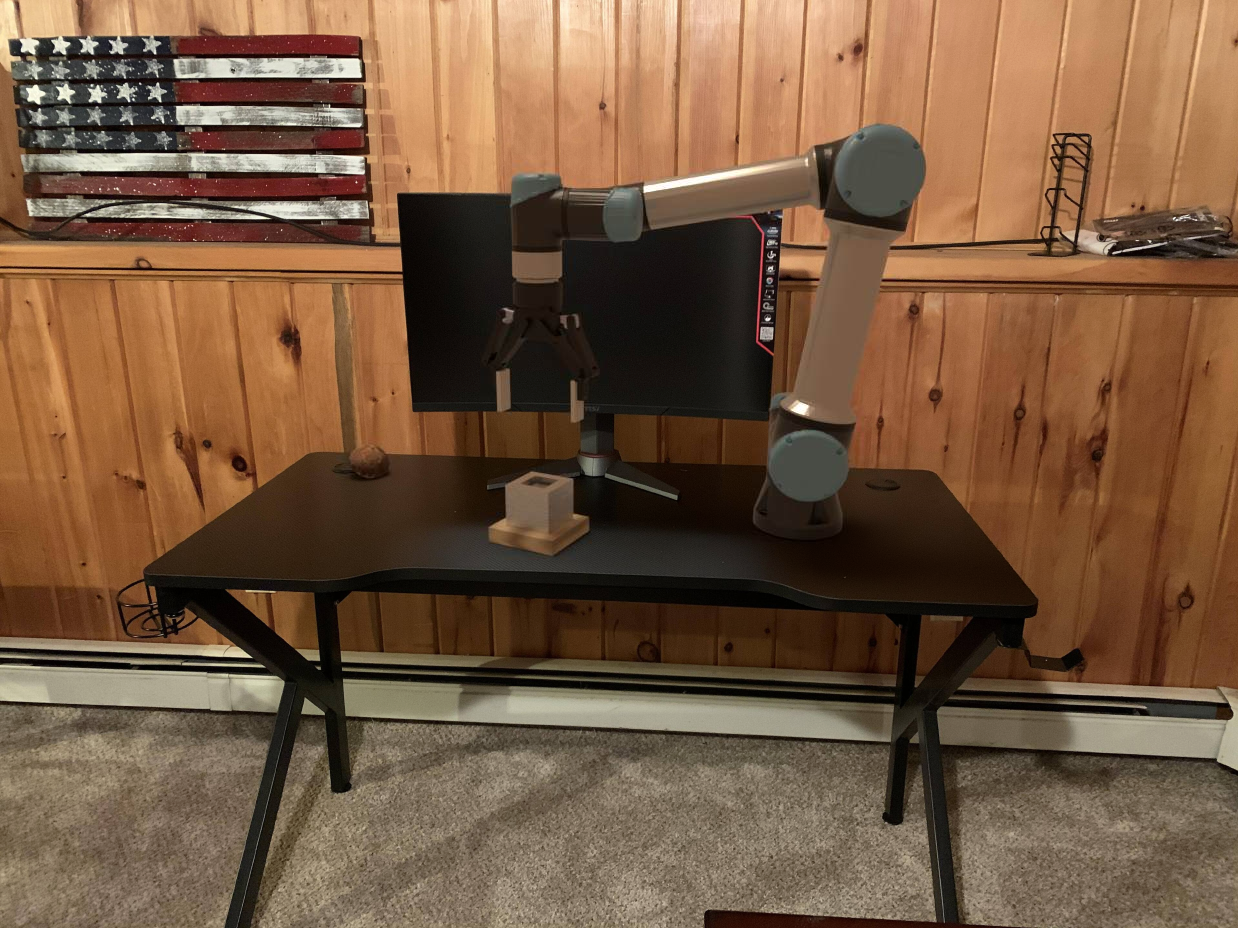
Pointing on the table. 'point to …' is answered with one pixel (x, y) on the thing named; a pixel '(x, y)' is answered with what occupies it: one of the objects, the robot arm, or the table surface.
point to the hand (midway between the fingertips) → (539, 415)
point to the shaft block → (539, 535)
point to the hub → (539, 502)
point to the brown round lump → (369, 461)
